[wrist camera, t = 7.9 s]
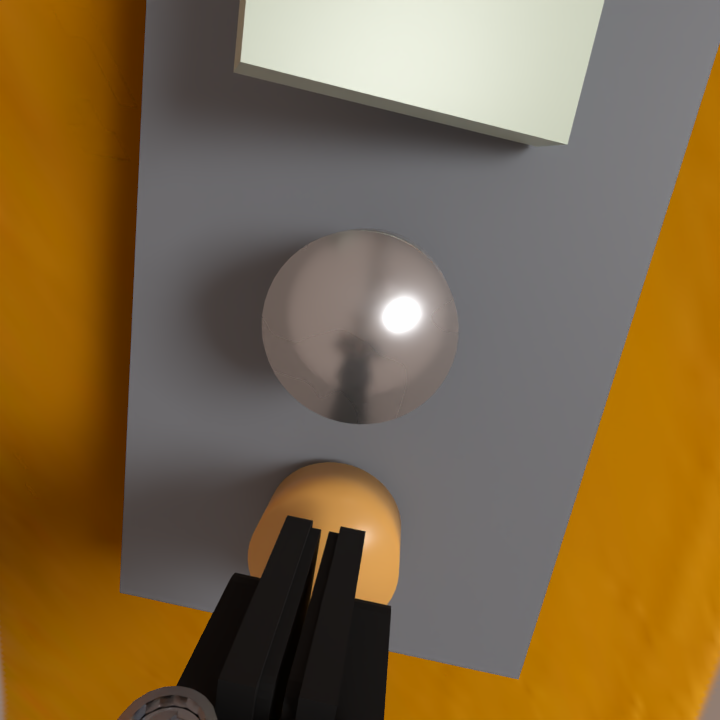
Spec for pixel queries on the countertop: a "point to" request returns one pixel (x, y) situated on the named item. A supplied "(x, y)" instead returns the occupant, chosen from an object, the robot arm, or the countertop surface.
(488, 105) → the block
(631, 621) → the countertop surface
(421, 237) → the panel
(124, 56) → the countertop surface
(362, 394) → the button metal
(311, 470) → the button orange
